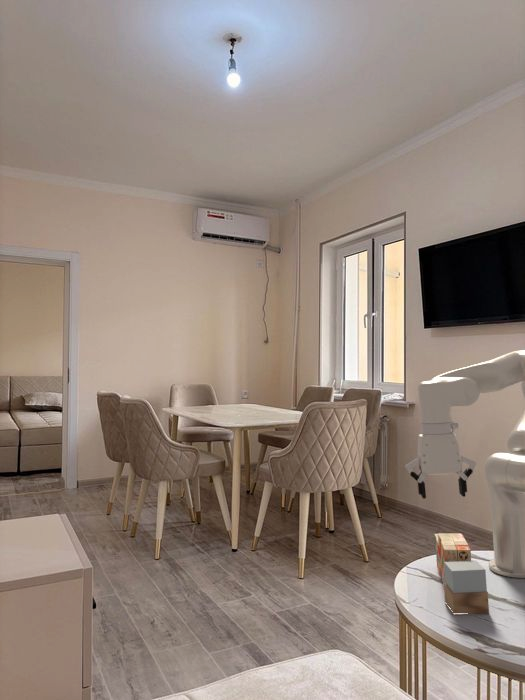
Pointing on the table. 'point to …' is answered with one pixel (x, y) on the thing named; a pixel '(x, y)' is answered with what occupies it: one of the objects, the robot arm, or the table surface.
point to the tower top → (465, 576)
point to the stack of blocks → (450, 550)
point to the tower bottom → (467, 601)
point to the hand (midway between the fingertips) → (442, 496)
